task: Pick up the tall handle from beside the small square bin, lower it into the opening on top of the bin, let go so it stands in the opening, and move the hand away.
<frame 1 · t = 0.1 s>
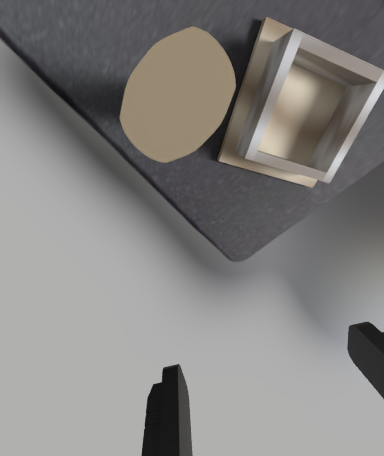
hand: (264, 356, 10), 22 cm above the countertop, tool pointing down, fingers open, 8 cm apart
small square bin: (289, 117, 26), on the countertop
handle: (170, 107, 25), on the countertop
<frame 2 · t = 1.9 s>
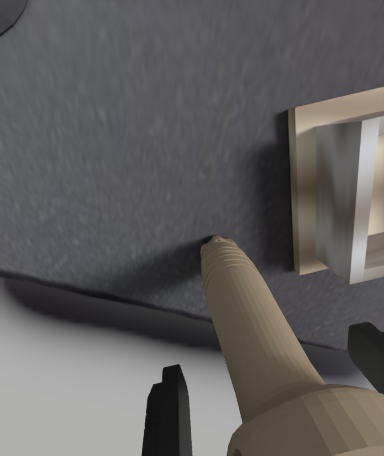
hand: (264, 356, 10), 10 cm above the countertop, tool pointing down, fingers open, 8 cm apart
small square bin: (371, 182, 18), on the countertop
handle: (216, 249, 20), on the countertop
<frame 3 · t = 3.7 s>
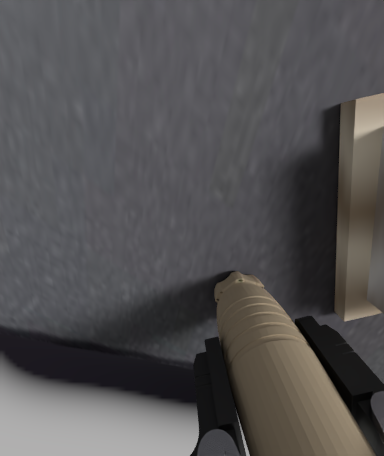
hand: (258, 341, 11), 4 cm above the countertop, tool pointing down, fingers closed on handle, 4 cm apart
handle: (235, 287, 15), on the countertop, touching gripper
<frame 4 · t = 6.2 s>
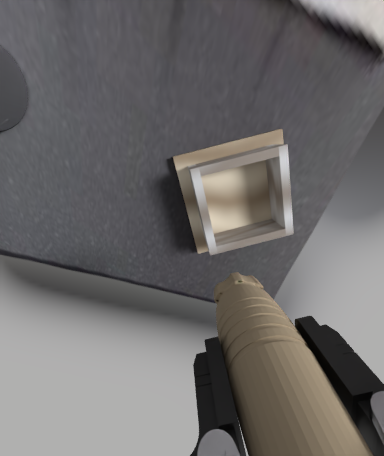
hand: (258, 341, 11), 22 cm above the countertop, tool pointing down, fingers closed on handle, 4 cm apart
small square bin: (234, 195, 30), on the countertop
handle: (234, 288, 15), point 17 cm above the countertop, touching gripper
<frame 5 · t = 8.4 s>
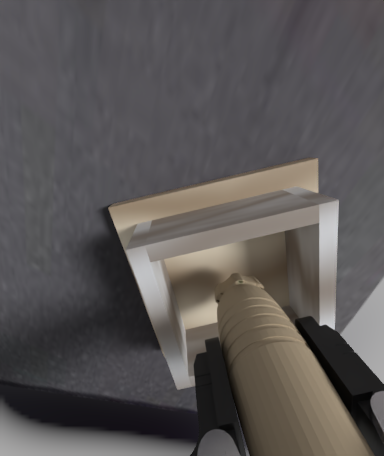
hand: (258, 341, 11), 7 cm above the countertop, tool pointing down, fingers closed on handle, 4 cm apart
small square bin: (226, 266, 18), on the countertop
handle: (235, 288, 15), point 3 cm above the countertop, touching gripper
when the fingers open (7 cm above the countertop, at t = 9.2 s): handle drops 1 cm, resting on small square bin.
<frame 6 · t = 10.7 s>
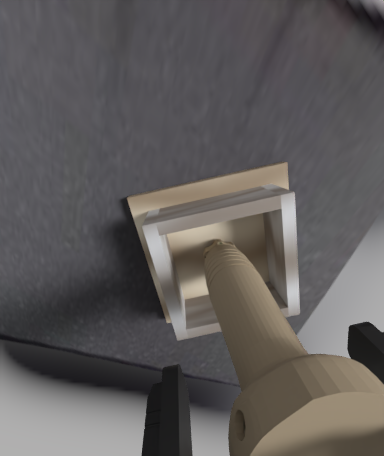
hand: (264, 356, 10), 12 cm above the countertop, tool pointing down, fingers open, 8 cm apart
small square bin: (218, 247, 22), on the countertop
handle: (218, 252, 21), point 1 cm above the countertop, touching small square bin
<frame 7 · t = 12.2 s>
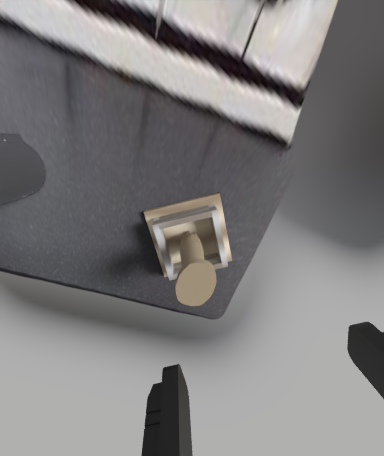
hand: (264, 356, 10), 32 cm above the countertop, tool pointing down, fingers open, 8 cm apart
small square bin: (190, 235, 42), on the countertop
handle: (189, 237, 41), point 1 cm above the countertop, touching small square bin
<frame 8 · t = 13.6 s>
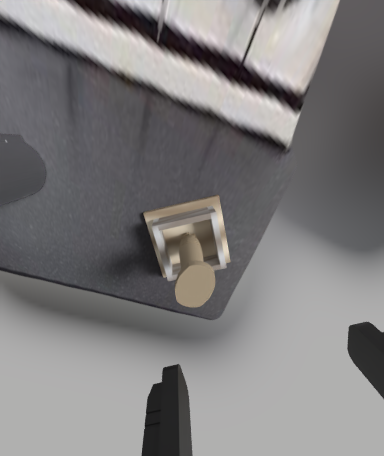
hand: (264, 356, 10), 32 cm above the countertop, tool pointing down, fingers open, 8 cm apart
small square bin: (189, 237, 43), on the countertop
handle: (188, 239, 42), point 1 cm above the countertop, touching small square bin
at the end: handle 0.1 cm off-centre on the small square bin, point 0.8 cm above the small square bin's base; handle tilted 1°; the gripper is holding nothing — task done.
